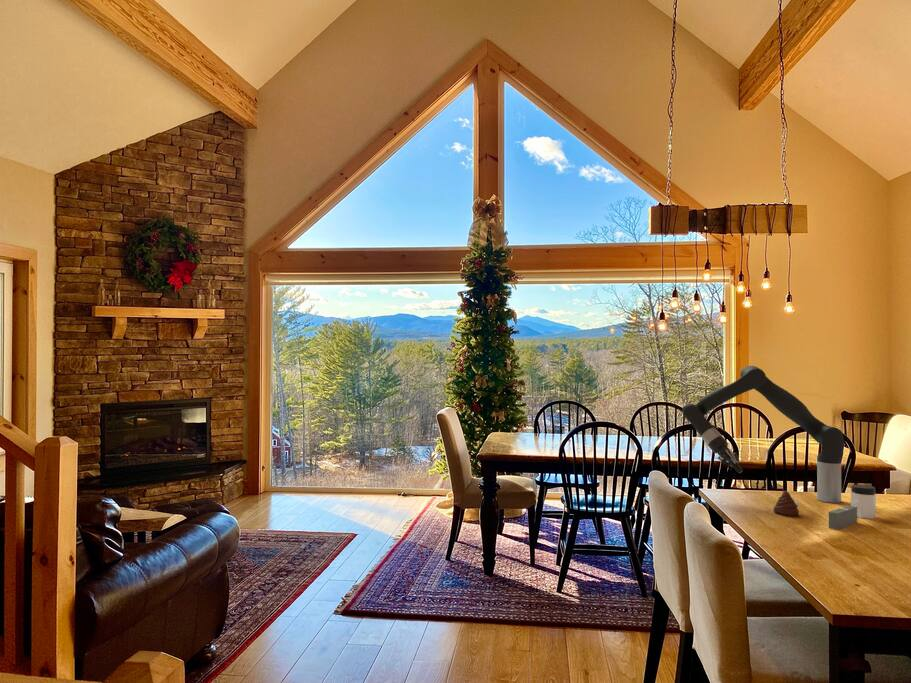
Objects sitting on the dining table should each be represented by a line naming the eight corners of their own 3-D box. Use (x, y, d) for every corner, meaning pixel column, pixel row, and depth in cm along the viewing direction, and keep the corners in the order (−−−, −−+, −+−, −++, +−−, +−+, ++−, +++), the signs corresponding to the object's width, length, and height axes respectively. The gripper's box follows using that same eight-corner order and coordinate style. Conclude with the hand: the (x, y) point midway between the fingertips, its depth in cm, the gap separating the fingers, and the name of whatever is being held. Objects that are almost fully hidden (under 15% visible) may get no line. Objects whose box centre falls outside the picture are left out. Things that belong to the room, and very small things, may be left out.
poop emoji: (768, 511, 259) (768, 489, 259) (784, 510, 261) (784, 487, 261) (788, 517, 249) (788, 494, 249) (804, 516, 252) (804, 493, 252)
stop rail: (848, 520, 245) (848, 504, 245) (857, 522, 243) (857, 506, 243) (828, 527, 234) (828, 511, 235) (837, 529, 232) (837, 512, 232)
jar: (845, 514, 256) (845, 484, 256) (860, 512, 258) (860, 483, 258) (865, 519, 247) (865, 489, 247) (881, 518, 250) (881, 488, 250)
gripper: (712, 436, 275) (738, 468, 265) (728, 434, 283) (754, 465, 273) (700, 446, 279) (726, 478, 269) (717, 444, 287) (742, 475, 277)
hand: (740, 471), depth 271 cm, fingers closed
